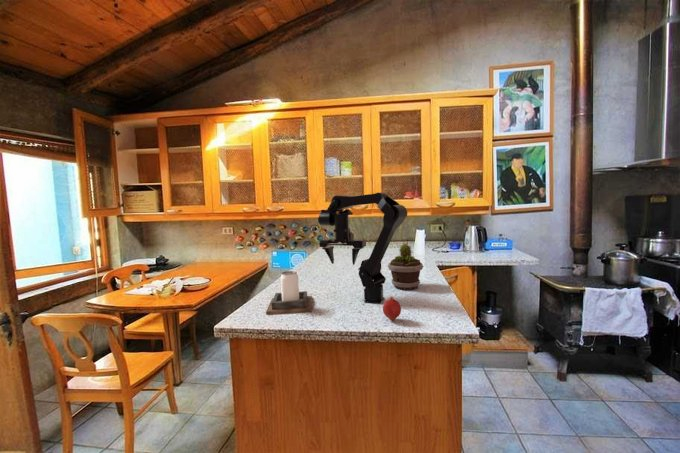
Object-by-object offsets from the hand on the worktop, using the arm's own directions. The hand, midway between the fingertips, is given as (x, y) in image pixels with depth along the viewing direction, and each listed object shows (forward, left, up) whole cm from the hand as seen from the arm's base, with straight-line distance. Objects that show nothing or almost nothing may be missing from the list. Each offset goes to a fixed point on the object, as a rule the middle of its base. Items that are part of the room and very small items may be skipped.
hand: (343, 264), depth 135 cm
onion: (-25, +22, -13) cm, 36 cm away
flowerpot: (-22, -18, -13) cm, 31 cm away
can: (+14, +19, -12) cm, 27 cm away
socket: (+15, +18, -13) cm, 27 cm away
